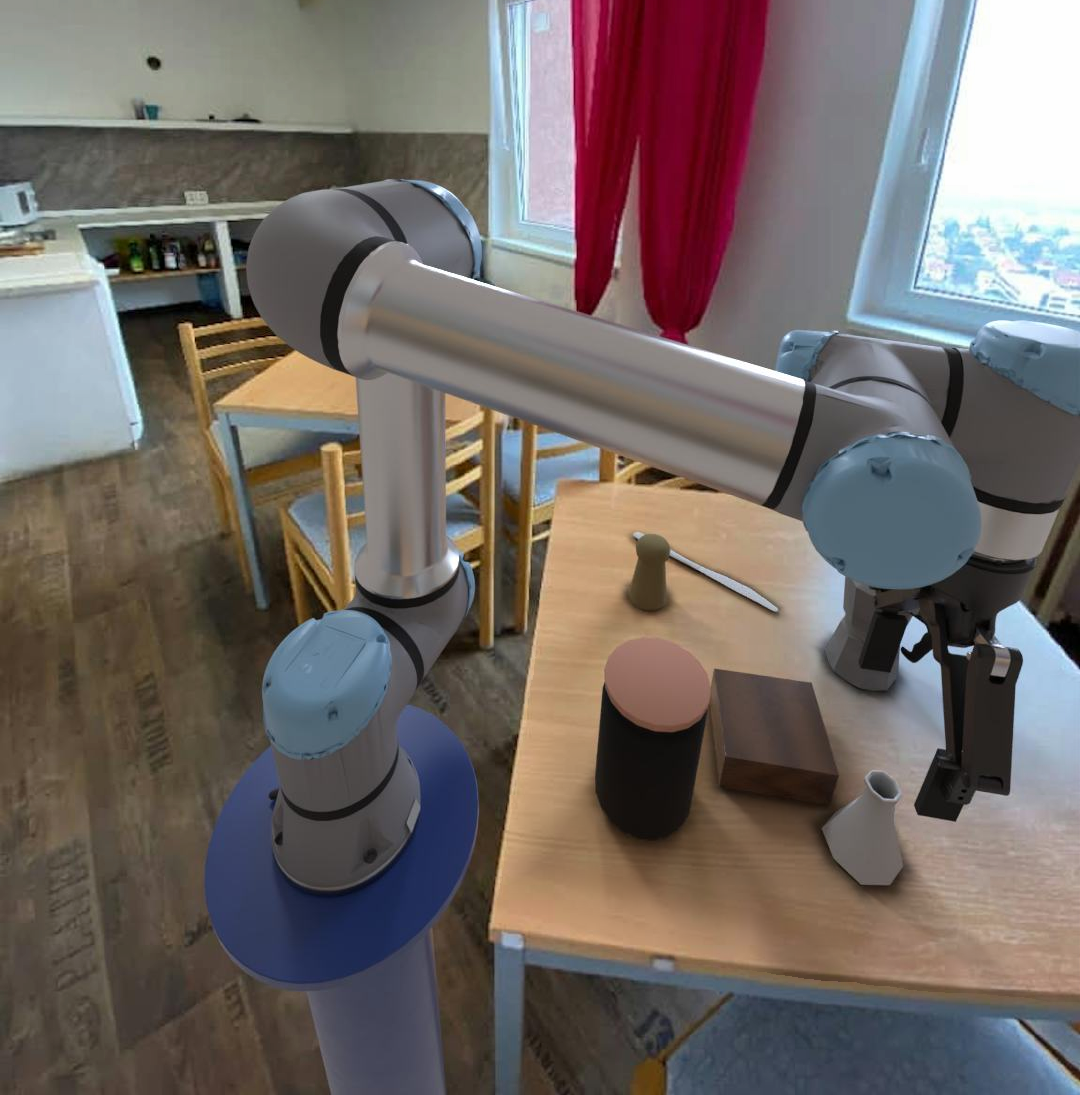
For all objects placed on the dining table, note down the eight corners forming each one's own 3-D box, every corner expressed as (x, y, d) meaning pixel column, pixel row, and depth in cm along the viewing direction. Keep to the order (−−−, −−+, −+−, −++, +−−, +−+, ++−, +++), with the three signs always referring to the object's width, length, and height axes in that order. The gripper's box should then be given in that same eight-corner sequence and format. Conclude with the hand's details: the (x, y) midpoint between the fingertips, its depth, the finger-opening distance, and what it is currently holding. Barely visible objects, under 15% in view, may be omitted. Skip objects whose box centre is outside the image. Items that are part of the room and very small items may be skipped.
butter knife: (640, 527, 112) (631, 534, 110) (782, 605, 95) (774, 614, 93) (640, 530, 112) (630, 536, 110) (781, 607, 95) (774, 617, 93)
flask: (808, 824, 65) (827, 761, 61) (861, 803, 67) (882, 741, 64) (860, 899, 59) (884, 835, 55) (916, 874, 61) (944, 810, 57)
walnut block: (719, 786, 69) (725, 756, 67) (709, 695, 80) (714, 668, 78) (830, 805, 67) (839, 775, 65) (804, 710, 78) (811, 682, 76)
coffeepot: (800, 636, 89) (824, 537, 82) (851, 623, 92) (879, 525, 85) (883, 728, 76) (920, 619, 69) (940, 710, 78) (982, 602, 72)
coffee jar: (689, 759, 72) (708, 646, 65) (691, 858, 62) (714, 737, 55) (599, 741, 74) (609, 628, 67) (588, 833, 64) (598, 713, 57)
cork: (667, 586, 98) (674, 531, 94) (665, 613, 93) (673, 556, 89) (630, 580, 100) (635, 525, 95) (626, 606, 94) (632, 549, 90)
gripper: (1168, 685, 32) (1031, 911, 41) (953, 452, 55) (893, 628, 63) (1014, 663, 33) (911, 888, 42) (866, 444, 56) (818, 618, 64)
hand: (900, 732), depth 52 cm, fingers open, 13 cm apart
